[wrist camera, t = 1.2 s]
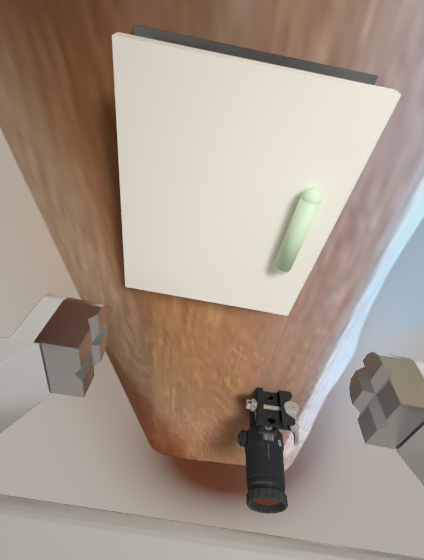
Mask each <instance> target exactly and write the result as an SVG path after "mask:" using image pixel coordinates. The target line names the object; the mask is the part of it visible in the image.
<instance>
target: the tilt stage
mask: <svg viewBox="0 0 424 560" xmlns="http://www.w3.org/2000/svg"><path fill="white" fill-rule="evenodd" d="M112 48H113V67H114V86H115V104H116V123H117V142H118V160H119V179H120V197H121V216H122V235H123V253H124V272H125V287H128V288H134V289H140V290H145V291H151V292H157V293H162V294H168V295H174V296H179V297H185V298H190V299H196V300H202V301H207V302H213V303H219V304H224V305H230V306H236V307H241V308H247V309H253V310H258V311H264V312H270V313H275V314H281V315H287V316H288V314H289V312H290V310H291V308H292V307H293V305H294V303H295V301H296V299H297V297H298V295H299V293H300V291H301V289H302V287H303V285H304V283H305V281H306V279H307V277H308V275H309V273H310V272H311V270H312V268H313V266H314V264H315V262H316V260H317V258H318V256H319V254H320V252H321V250H322V248H323V246H324V244H325V242H326V240H327V238H328V237H329V235H330V233H331V231H332V229H333V227H334V225H335V223H336V221H337V219H338V217H339V215H340V213H341V211H342V209H343V207H344V205H345V203H346V201H347V200H348V198H349V196H350V194H351V192H352V190H353V188H354V186H355V184H356V182H357V180H358V178H359V176H360V174H361V172H362V170H363V168H364V166H365V165H366V163H367V161H368V159H369V157H370V155H371V153H372V151H373V149H374V147H375V145H376V143H377V141H378V139H379V137H380V135H381V133H382V131H383V130H384V128H385V126H386V124H387V122H388V120H389V118H390V116H391V114H392V112H393V110H394V108H395V106H396V104H397V102H398V100H399V98H400V96H401V94H400V93H399V92H397V91H396V90H394V89H389V88H385V87H380V86H375V85H370V84H365V83H360V82H356V81H351V80H346V79H341V78H336V77H332V76H327V75H322V74H317V73H312V72H308V71H303V70H298V69H293V68H288V67H284V66H279V65H274V64H269V63H264V62H260V61H255V60H250V59H245V58H240V57H236V56H231V55H226V54H221V53H216V52H211V51H207V50H202V49H197V48H192V47H187V46H183V45H178V44H173V43H168V42H163V41H159V40H154V39H149V38H144V37H139V36H135V35H130V34H125V33H120V32H117V33H115V34H112Z"/></svg>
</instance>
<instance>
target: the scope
mask: <svg viewBox="0 0 424 560" xmlns="http://www.w3.org/2000/svg"><path fill="white" fill-rule="evenodd" d="M267 395H269V396H271V397H272V399H267V398H266V396H267ZM291 398H292V394H291V393H290V392H286V391H279V395H278V394H277V393H271V392H264V391H263V388H256V391H255V399H251V400H248V399H246V405H245V407H246V409H250V429H248V430H247V432H246V431H245V430H244V431H243V430H242V431H241V432H240V433H239V435H238V439H239V440H238V443H239V444H240V446H241V447H242V446H243V447H244V446H245V453H246V473H247V488H248V490H249V492H248V493H247V506H248V507H249V508H250V509H252V510H254V511H257V512H261V513H278V512H282V511H284V510H285V509H286V508H287V506H288V504H287V496H286V494H285V493H284V491H285V479H284V463H283V450H284V447H283V438H282V434H281V433H280V432H279V428H280V429H282V430H289V431H292V433H293V435H294V445H295V446H297V445H298V444H299V433H298V429H299V428H300V426H298V421H297V419H296V414H297V412H298V410H299V407H298V405H297V404H296V403H294V402H291V401H289V400H290V399H291ZM283 406H284V407H283Z"/></svg>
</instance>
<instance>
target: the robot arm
mask: <svg viewBox="0 0 424 560" xmlns="http://www.w3.org/2000/svg"><path fill="white" fill-rule="evenodd" d="M107 316H108V315H107V306H105V305H103V304H98V303H93V302H88V301H83V300H78V299H73V298H66V297H61V296H56V295H51V294H48V295H46V296H44V297H43V298H42V299H41V300H40V301H39V302H38V304H37V305H36V306H35V307H34V309H33V310H32V311H31V312H30V313H29V315H28V316H27V317H26V318H25V320H24V321H23V322H22V323H21V324H20V326H19V327H18V328H17V329H16V331H15V332H14V333H13V334H12V335H11V337H10V338H4V337H2V338H0V433H1V432H3V431H4V430H5V429H6V428H8V427H9V426H10V425H12V424H13V423H14V422H15V421H17V420H18V419H19V418H21V417H22V416H23V415H24V414H26V413H27V412H28V411H29V410H31V409H32V408H33V407H35V406H36V405H37V404H39V403H40V402H41V401H42V400H44V399H45V398H46V397H47V396H49V395H50V393H58V394H64V395H72V396H79V397H84V396H85V394H86V392H87V390H88V388H89V385H90V383H91V381H92V379H93V377H94V365H96V364H97V363H99V362H100V361H101V359H102V357H103V355H104V352H105V348H106V345H107V339H108V327H107V326H106V325H105V324H104V322H105V320H106V318H107ZM363 362H364V366H365V367H363V368H361V369H359V370H357V371H356V372H355V373H354V375H353V377H352V378H351V382H350V397H351V400H352V404H353V405H354V406H355V407H356V408H357V409H358V410H359V412H360V415H359V418H358V421H359V425H360V428H361V431H362V435H363V438H364V441H365V443H366V444H371V445H376V446H381V447H387V448H392V449H397V453H398V454H399V455H400V456H401V458H402V459H403V460H404V461H405V463H406V464H407V465H408V466H409V468H410V469H411V470H412V471H413V473H414V474H415V475H416V476H417V478H418V479H419V480H420V481H421V483H422V484H423V485H424V360H419V359H413V358H406V357H400V356H394V355H388V354H382V353H376V352H371V353H369V354H367V356H366V357H365V359H364V360H363ZM0 560H424V558H418V557H412V556H405V555H398V554H392V553H386V552H379V551H372V550H366V549H359V548H352V547H346V546H339V545H333V544H326V543H319V542H312V541H306V540H300V539H292V538H286V537H280V536H273V535H267V534H260V533H253V532H246V531H240V530H233V529H227V528H220V527H214V526H207V525H200V524H193V523H187V522H180V521H173V520H167V519H161V518H154V517H147V516H141V515H134V514H128V513H121V512H114V511H108V510H101V509H94V508H88V507H81V506H74V505H68V504H61V503H55V502H48V501H41V500H35V499H27V498H21V497H15V496H8V495H2V494H0Z"/></svg>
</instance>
